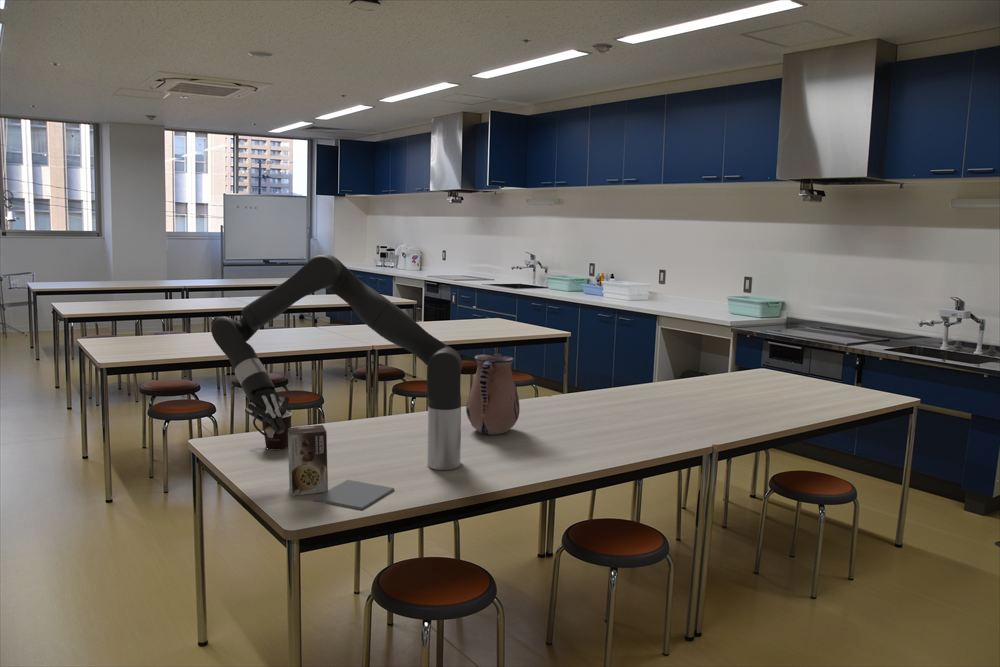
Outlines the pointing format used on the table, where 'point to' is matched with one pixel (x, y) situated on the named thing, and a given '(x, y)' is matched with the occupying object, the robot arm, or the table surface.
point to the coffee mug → (275, 433)
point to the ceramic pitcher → (493, 395)
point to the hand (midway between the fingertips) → (281, 431)
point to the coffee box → (307, 460)
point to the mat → (354, 494)
